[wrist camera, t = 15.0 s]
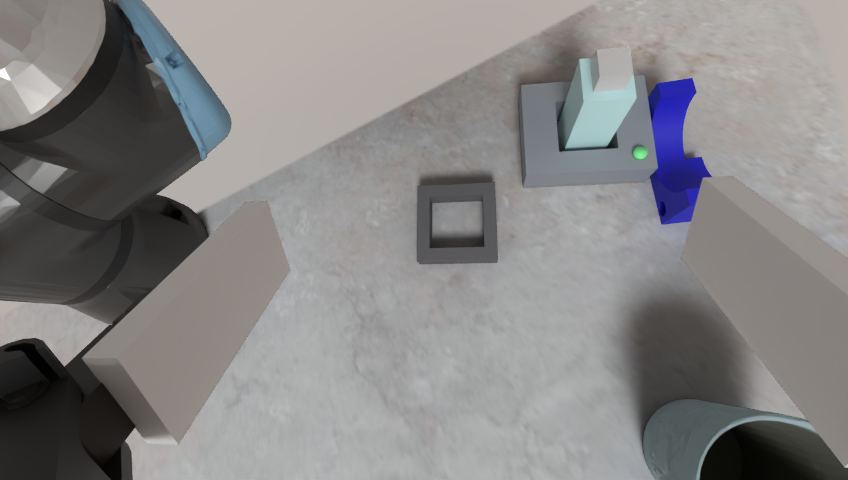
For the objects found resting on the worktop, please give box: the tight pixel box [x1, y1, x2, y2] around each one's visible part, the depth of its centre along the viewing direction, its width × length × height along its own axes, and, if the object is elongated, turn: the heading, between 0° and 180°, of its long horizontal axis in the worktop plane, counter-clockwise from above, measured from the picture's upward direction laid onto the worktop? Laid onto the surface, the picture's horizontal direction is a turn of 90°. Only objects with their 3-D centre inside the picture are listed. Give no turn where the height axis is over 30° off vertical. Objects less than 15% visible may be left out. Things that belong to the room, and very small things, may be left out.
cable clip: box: [648, 78, 712, 225], centre depth 38 cm, size 12×4×6 cm, turn 5°
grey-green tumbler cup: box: [643, 399, 848, 480], centre depth 29 cm, size 10×10×12 cm
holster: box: [417, 182, 498, 264], centre depth 42 cm, size 8×8×2 cm
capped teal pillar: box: [557, 47, 637, 152], centre depth 37 cm, size 4×4×13 cm
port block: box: [519, 75, 658, 188], centre depth 41 cm, size 12×10×4 cm
